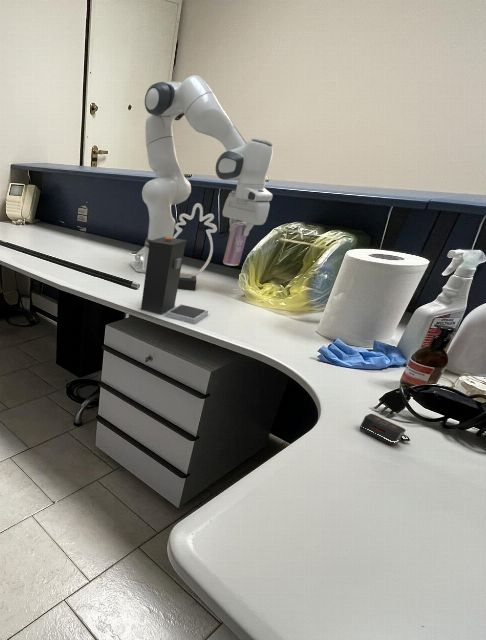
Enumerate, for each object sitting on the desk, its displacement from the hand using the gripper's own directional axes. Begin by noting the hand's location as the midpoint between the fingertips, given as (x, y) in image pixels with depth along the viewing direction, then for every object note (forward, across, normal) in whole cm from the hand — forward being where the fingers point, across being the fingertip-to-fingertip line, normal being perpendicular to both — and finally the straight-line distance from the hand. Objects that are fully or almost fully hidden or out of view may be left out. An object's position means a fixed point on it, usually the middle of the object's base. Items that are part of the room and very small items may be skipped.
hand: (238, 233), depth 151 cm
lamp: (+23, -10, -12) cm, 28 cm away
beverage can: (+11, 0, 0) cm, 11 cm away
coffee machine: (+22, +17, -32) cm, 42 cm away
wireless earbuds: (+21, +91, -27) cm, 97 cm away
